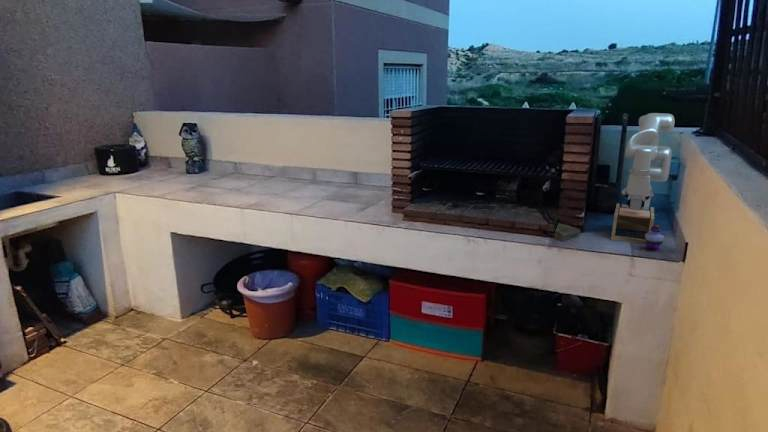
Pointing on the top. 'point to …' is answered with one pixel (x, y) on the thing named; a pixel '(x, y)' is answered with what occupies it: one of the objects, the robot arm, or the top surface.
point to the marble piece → (566, 232)
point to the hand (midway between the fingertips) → (635, 207)
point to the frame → (631, 225)
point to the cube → (635, 204)
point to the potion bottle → (654, 238)
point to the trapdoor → (634, 212)
